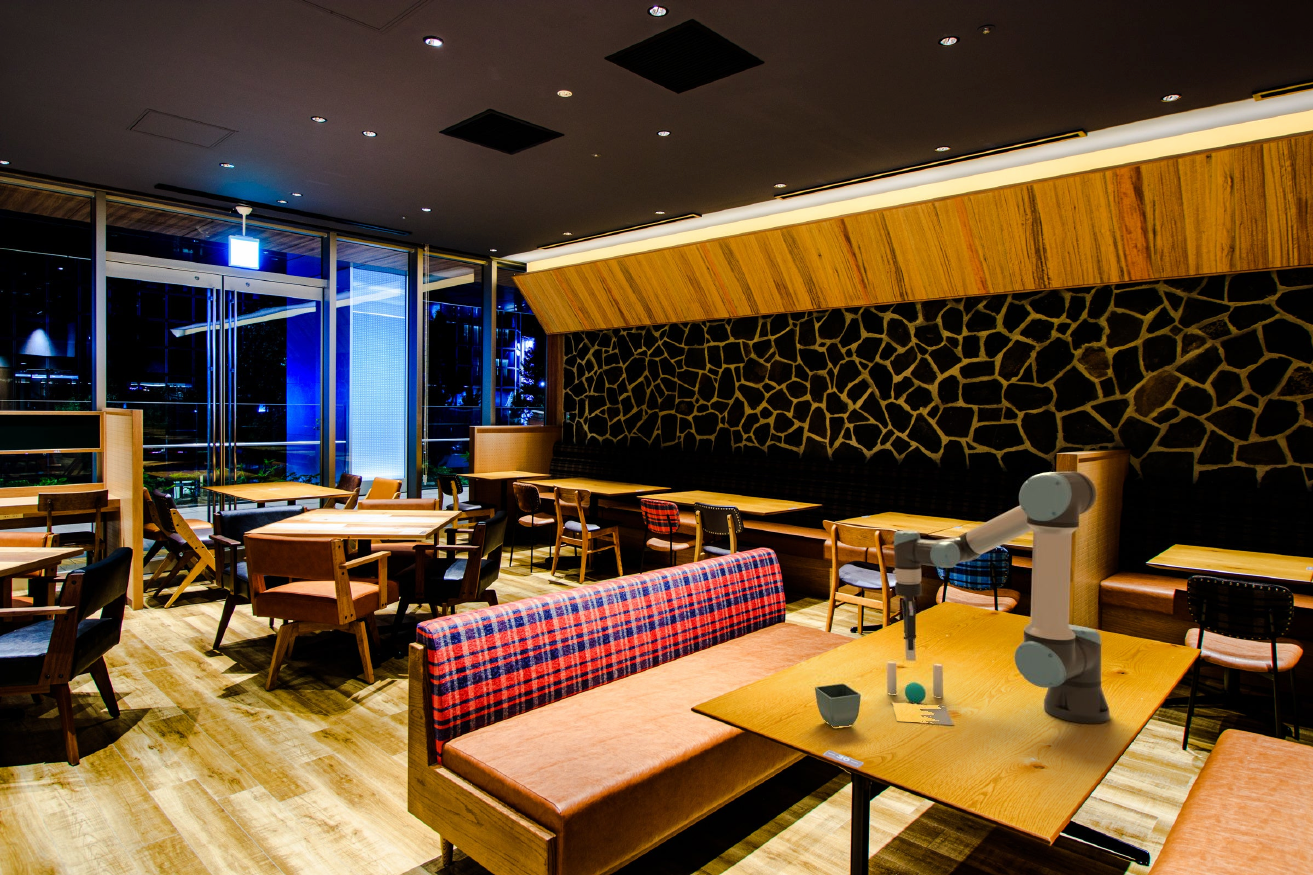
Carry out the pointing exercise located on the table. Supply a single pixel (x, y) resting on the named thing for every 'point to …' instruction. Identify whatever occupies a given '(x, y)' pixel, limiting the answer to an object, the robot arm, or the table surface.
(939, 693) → the right post
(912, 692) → the ball
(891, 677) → the left post
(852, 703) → the flower pot
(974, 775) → the table surface
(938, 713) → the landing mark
